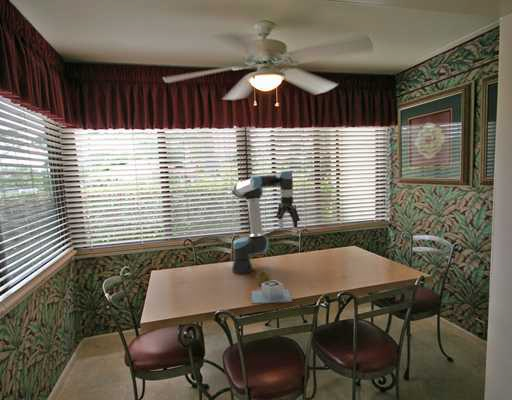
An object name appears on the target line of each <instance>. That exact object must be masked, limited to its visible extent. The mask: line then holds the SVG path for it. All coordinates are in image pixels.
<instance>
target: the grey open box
mask: <svg viewBox="0 0 512 400" xmlns="http://www.w3.org/2000/svg"><path fill="white" fill-rule="evenodd" d="M271 282H273V283H276V286H273V287H269V283H271ZM260 287H261V288H260V289H261V290H262V295H263V296H264V297H266V298H267V299H269V300H273V299H276V298H280V297H283V296H284V295H283V289H284V284H283V283H281V282H279V281H278V280H275V279H271V281H268V282H264V283H261V284H260Z"/></svg>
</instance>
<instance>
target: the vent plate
mask: <svg viewBox="0 0 512 400" xmlns="http://www.w3.org/2000/svg"><path fill="white" fill-rule="evenodd" d="M273 286H276V283H273V282H271V283H269V287H273ZM283 295H284V296H283V297H280V298H276V299H273V300H269V299H267V298H266V297H264V296H263V295H262V289H261V290H251V304H252V305H256V304H258V303H260V304H274V303H276V304H277V303H292V302H293V300H292V297H291V296H292V295H291V293H290V291H289V289H288V288H283ZM258 305H259V304H258Z"/></svg>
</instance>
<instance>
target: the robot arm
mask: <svg viewBox="0 0 512 400" xmlns="http://www.w3.org/2000/svg"><path fill="white" fill-rule="evenodd" d="M293 178H294V177H293V172H292V171H291V170H281V171H280V172H279V173H273V174H263V175H261V174H260V175H257V174H256V175H252V176H250V178H249V179H246V180H244V181H239V182H238V181H237V182H235V183H234V184H232V187H231V193H232V195H233V196H234V197H236V198H238V199H239V198H240V199H241V198H243V199H244V200H245V201H246V202H247V209H248V217H249V219H248V220H249V225H250V234H249V237H247V236H246V237H244V236H243V237H239V238H236V239H234V240H233V242H232V243H233V245H232V249H233V262H232V267H231V270H232V273H234V274H237V275H239V274H249V273H251V272H253V268H254V267H253V265H252V261H251V256H252V255H258V254H262V253H266V252H267V251H268V249H269V248H270V247H269V246H270V242H269V241H270V240H269V239H268V237H267V236H265V235H266V234H265V233H264V232H263V224H262V216H261V207H260V200H261V198H262V196H263V193H264V189H263V188H273V187H279V188H280V203H278V207H277V209H278V210H277V212H276V217H275V218H277V219H278V229H279V230H284V218H283V217H284V215H285V214H286V213H288V214H289V215H290V218H291V220H292V233H293V234H296V233H298V222H300V220H301V219H300V216H299V213H298V211H297V206H296V204H293V203H294V197H293V196H294V189H293V188H294V185H293V184H294V183H293V181H294V180H293Z"/></svg>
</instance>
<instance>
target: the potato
mask: <svg viewBox="0 0 512 400" xmlns="http://www.w3.org/2000/svg"><path fill="white" fill-rule="evenodd" d="M256 280H257V281H258V282H259V284H260V285H261V283H264V282H268V281H271V280H272V278H271V277H270V275H269V273H268V272H266V271H265V270H263V269H262V270H261V269H260V270H258V271H257V273H256Z"/></svg>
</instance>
